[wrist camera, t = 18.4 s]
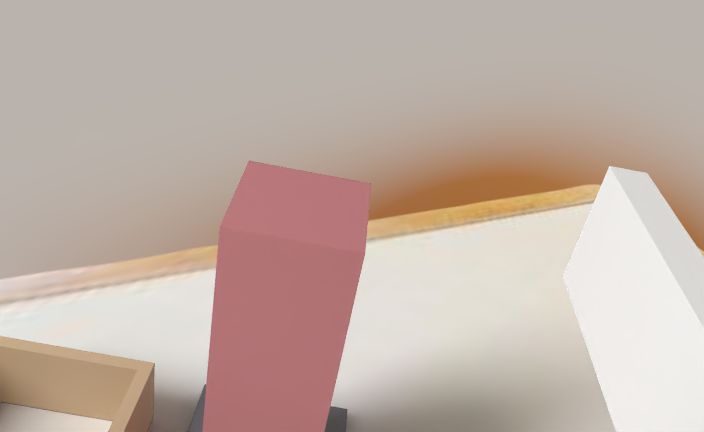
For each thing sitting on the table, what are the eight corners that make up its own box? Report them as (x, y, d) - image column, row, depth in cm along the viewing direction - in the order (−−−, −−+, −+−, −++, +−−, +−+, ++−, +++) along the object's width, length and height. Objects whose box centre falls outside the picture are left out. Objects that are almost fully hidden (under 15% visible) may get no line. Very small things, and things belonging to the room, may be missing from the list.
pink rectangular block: (312, 452, 43) (370, 183, 32) (299, 538, 38) (364, 253, 27) (219, 436, 43) (249, 160, 32) (194, 521, 38) (219, 226, 27)
